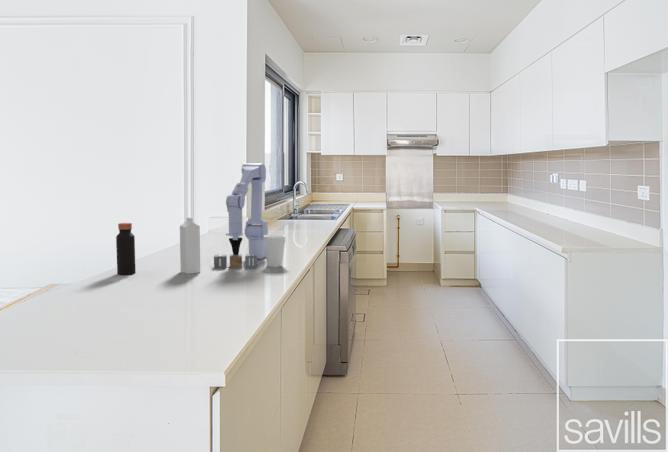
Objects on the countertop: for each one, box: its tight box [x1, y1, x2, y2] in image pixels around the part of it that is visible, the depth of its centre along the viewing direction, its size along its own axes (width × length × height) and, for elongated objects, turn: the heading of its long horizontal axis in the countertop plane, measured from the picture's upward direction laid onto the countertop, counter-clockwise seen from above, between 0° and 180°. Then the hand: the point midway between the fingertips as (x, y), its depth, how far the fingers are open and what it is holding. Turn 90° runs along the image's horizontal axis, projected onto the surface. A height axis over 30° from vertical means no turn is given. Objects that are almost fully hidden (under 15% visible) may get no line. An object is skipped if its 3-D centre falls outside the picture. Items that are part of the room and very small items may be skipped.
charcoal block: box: [213, 254, 228, 269], centre depth 240 cm, size 5×5×5 cm
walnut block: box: [229, 253, 243, 269], centre depth 241 cm, size 5×5×5 cm
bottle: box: [115, 222, 136, 276], centre depth 222 cm, size 7×7×20 cm
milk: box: [179, 217, 201, 275], centre depth 226 cm, size 6×6×22 cm
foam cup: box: [264, 234, 286, 268], centre depth 243 cm, size 10×9×13 cm
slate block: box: [244, 253, 258, 269], centre depth 242 cm, size 5×5×5 cm
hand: (235, 254), depth 241 cm, fingers closed
